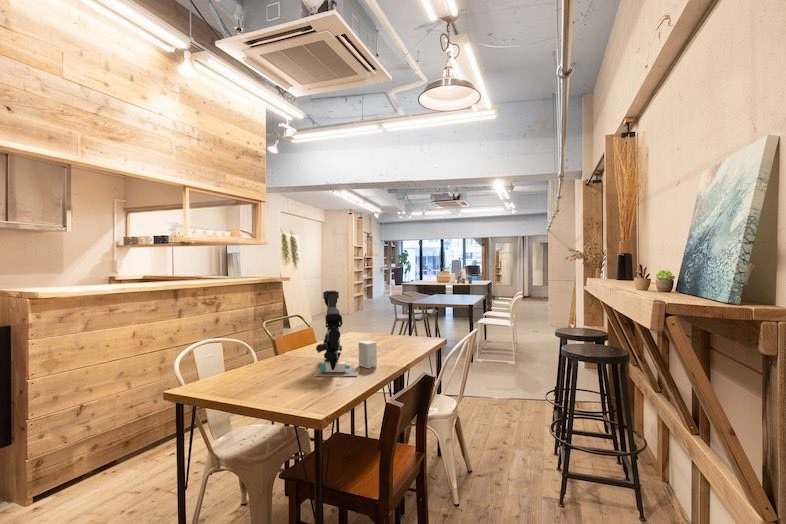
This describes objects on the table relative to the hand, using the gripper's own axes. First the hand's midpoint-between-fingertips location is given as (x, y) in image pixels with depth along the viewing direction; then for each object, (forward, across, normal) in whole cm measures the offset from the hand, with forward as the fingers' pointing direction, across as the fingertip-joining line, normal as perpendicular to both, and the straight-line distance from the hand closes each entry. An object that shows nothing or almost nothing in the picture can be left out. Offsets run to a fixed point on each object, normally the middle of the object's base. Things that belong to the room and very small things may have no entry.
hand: (333, 368), depth 213 cm
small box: (+2, -13, +16) cm, 21 cm away
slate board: (+2, -1, +2) cm, 3 cm away
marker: (+1, 0, 0) cm, 1 cm away
